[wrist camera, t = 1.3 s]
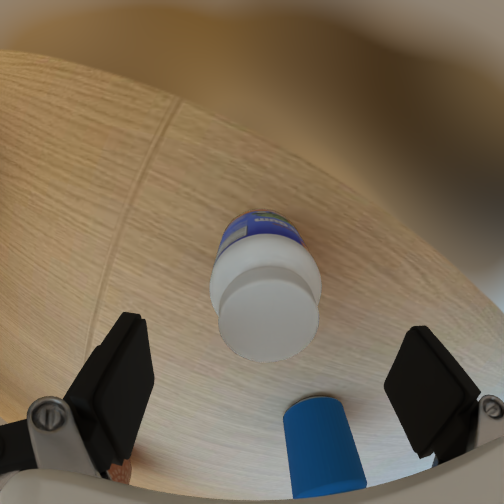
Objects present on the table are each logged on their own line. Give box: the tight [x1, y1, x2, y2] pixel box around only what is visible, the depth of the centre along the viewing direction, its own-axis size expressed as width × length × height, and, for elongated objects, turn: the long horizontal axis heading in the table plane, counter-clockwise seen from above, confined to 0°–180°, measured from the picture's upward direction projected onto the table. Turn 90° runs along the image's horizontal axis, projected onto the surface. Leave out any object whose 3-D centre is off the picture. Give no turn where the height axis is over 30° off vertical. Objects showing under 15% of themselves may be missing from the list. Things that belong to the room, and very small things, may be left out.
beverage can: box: [283, 396, 367, 499], centre depth 20 cm, size 6×6×12 cm
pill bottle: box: [210, 209, 322, 362], centre depth 15 cm, size 5×5×10 cm
